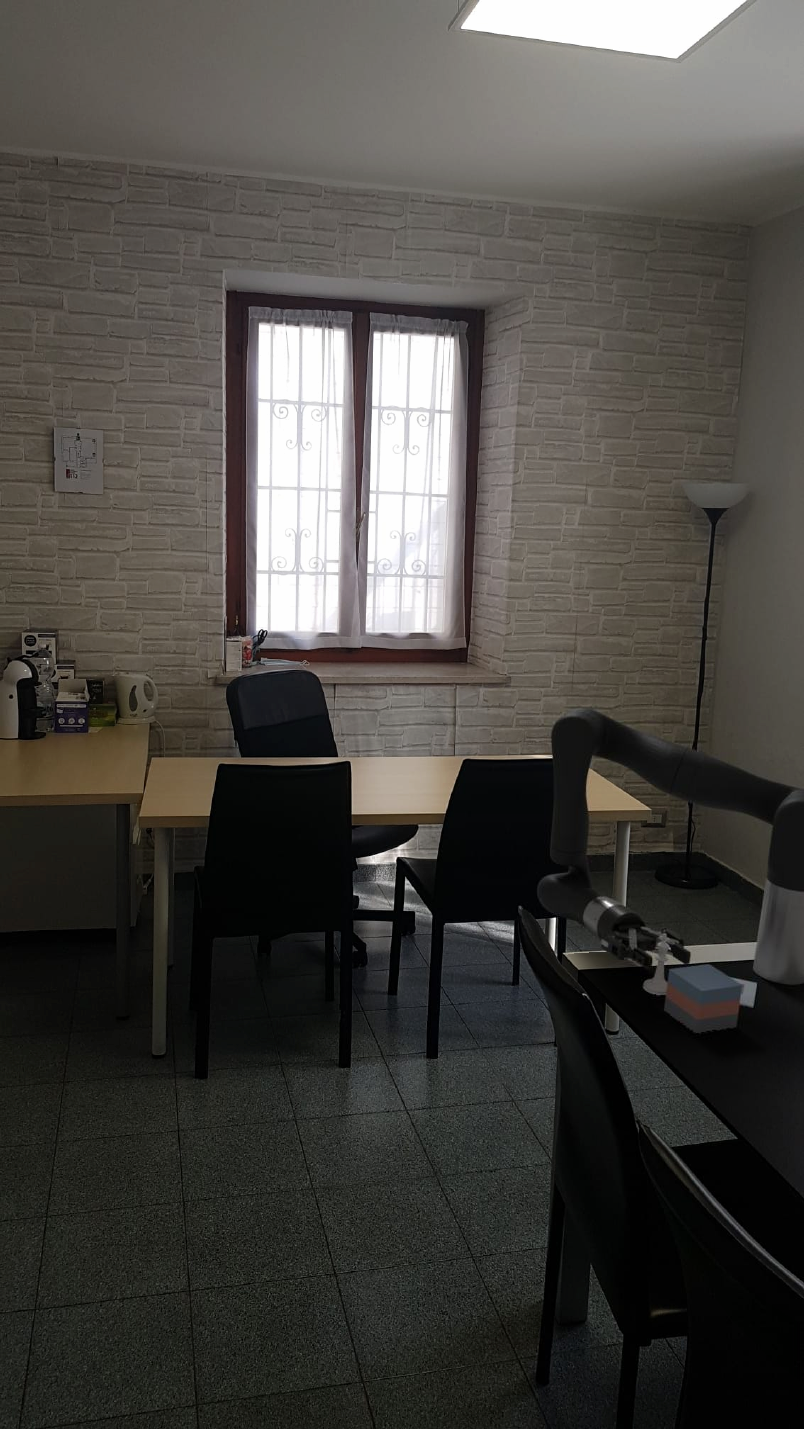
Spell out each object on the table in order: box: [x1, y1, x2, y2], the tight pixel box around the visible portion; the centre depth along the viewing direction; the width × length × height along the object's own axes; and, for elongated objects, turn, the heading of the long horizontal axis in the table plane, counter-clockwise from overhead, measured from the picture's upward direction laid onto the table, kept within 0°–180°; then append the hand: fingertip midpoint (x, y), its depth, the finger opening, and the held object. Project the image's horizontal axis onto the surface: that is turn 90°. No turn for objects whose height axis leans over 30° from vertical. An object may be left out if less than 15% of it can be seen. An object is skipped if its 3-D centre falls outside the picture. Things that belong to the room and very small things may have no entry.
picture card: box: [729, 976, 758, 1009], centre depth 183 cm, size 10×7×1 cm
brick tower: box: [663, 963, 742, 1034], centre depth 171 cm, size 8×8×7 cm
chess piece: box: [642, 933, 670, 996], centre depth 180 cm, size 5×5×10 cm
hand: (669, 961), depth 178 cm, fingers open, 7 cm apart
